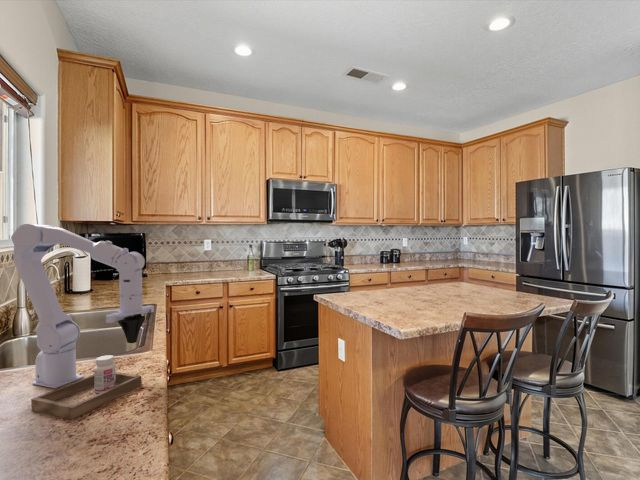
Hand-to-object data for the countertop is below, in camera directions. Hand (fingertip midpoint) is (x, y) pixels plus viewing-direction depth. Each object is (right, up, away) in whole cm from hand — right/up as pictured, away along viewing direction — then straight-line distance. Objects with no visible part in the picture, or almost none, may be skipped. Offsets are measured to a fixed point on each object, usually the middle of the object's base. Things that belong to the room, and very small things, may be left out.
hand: (132, 342), depth 100 cm
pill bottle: (-3, -10, -8) cm, 13 cm away
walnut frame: (-4, -10, -12) cm, 16 cm away
